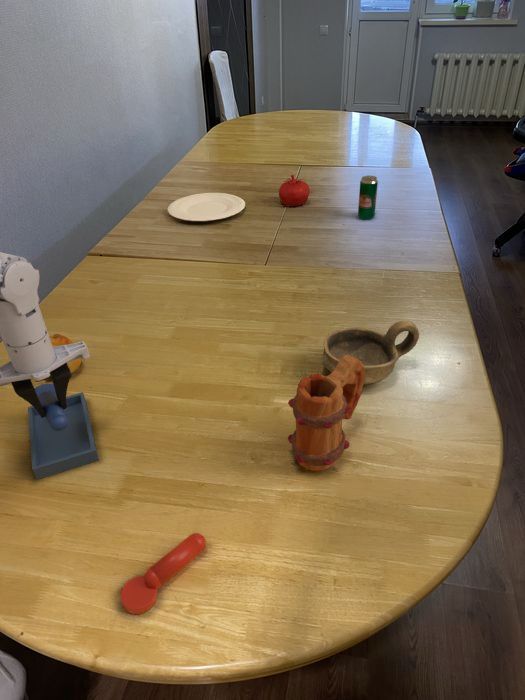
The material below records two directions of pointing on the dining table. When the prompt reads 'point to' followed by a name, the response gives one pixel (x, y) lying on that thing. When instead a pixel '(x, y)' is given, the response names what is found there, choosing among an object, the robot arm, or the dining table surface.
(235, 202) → the plate
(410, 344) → the bowl
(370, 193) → the soda can
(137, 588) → the red spoon
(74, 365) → the fruit
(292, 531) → the dining table surface
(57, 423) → the blue spoon
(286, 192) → the pomegranate
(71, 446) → the tray
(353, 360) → the mug
